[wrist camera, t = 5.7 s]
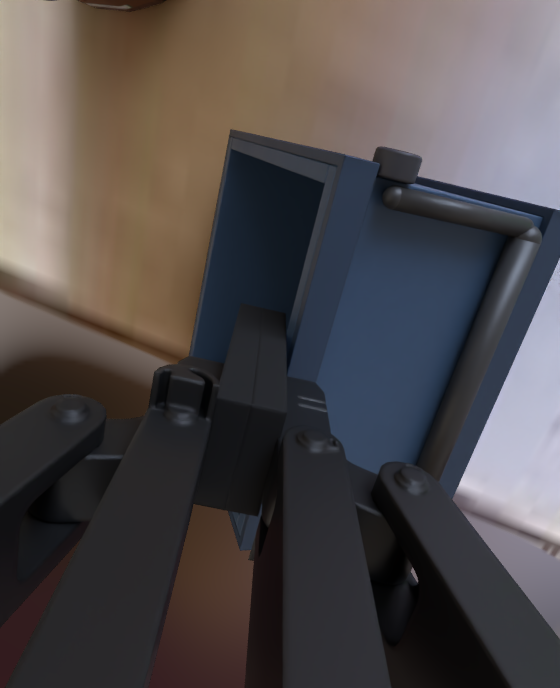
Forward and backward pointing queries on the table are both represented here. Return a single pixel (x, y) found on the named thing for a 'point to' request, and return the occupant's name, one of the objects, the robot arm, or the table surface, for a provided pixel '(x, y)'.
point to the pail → (377, 294)
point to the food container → (121, 4)
